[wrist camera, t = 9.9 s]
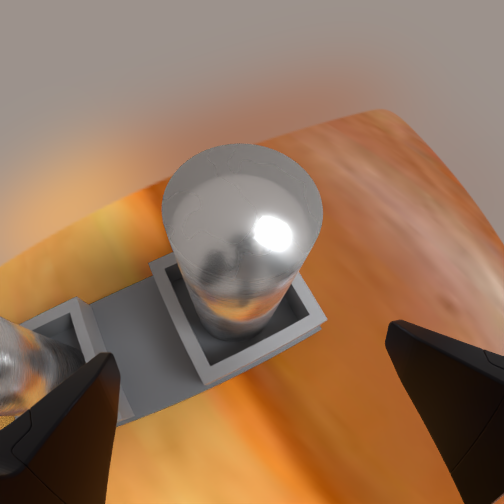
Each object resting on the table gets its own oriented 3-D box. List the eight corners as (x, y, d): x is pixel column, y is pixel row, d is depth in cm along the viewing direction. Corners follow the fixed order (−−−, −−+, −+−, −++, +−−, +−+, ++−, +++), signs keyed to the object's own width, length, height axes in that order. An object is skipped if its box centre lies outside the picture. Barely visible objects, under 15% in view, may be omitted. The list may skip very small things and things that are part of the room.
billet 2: (270, 344, 19) (327, 283, 8) (193, 339, 19) (147, 271, 8) (272, 272, 21) (316, 151, 10) (200, 267, 21) (177, 140, 10)
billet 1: (80, 427, 15) (-48, 439, 5) (29, 389, 16) (-96, 362, 5) (105, 366, 18) (-17, 326, 7) (52, 332, 18) (-66, 268, 7)
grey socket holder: (51, 447, 15) (26, 453, 12) (16, 345, 18) (-10, 335, 15) (317, 331, 21) (333, 320, 18) (259, 234, 24) (264, 209, 21)
